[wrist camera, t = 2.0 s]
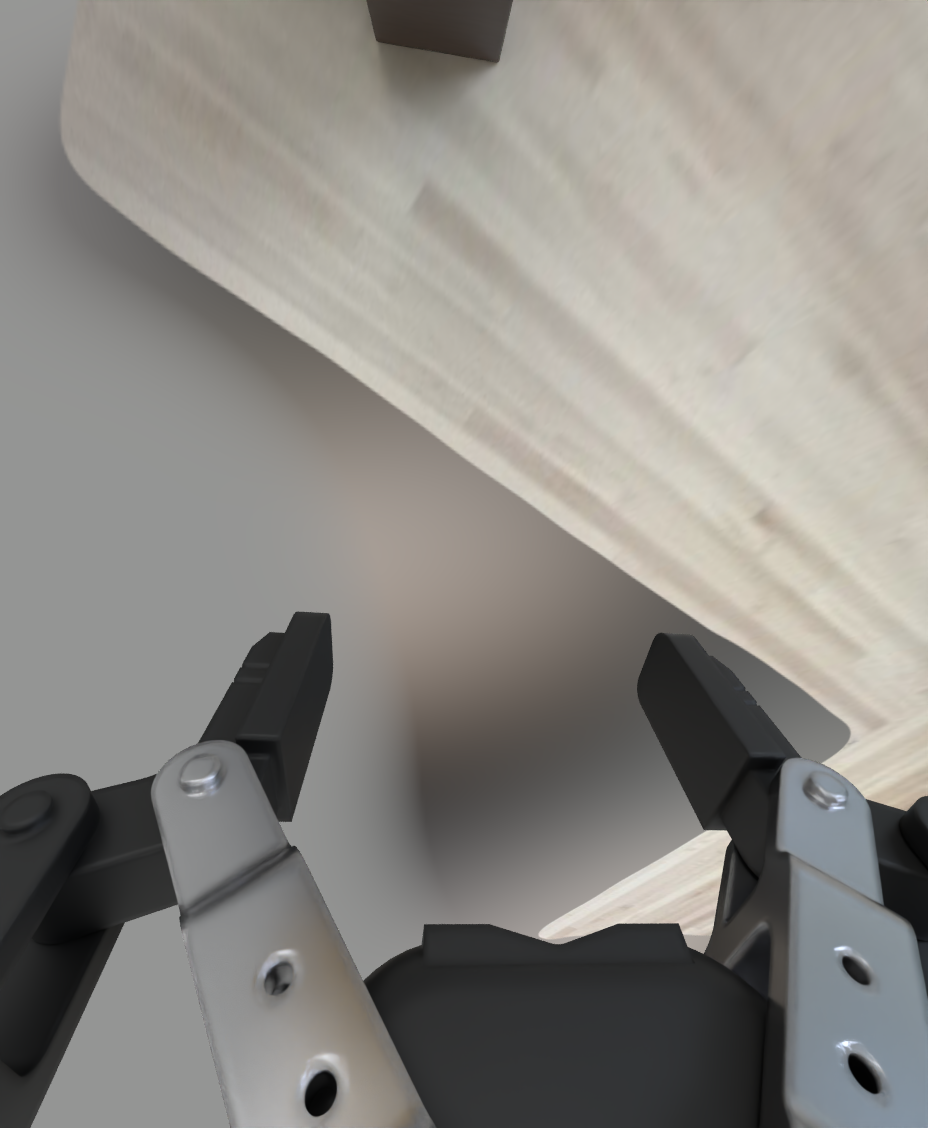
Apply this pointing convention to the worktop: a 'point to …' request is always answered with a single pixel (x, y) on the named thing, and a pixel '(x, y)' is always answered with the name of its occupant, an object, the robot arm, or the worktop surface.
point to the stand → (443, 25)
